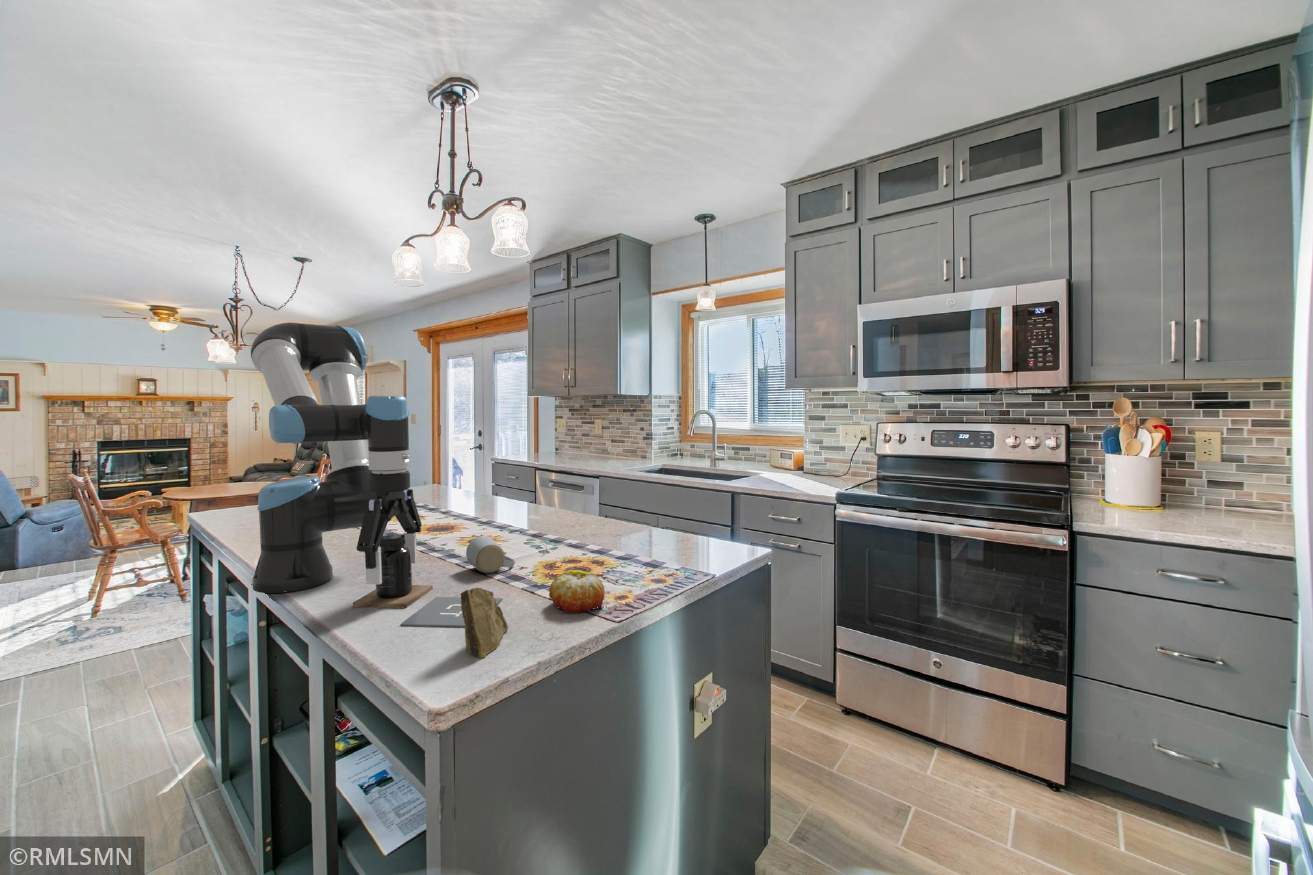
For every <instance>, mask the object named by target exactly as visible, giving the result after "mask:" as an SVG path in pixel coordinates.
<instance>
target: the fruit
mask: <svg viewBox="0 0 1313 875" xmlns="http://www.w3.org/2000/svg"><path fill="white" fill-rule="evenodd" d="M548 590H549V591H548V592H549V593H548V597H550V599H551V600H552V602H553V604H554V605H555V607H556V608H558V609H560V610H564V611H565V612H566V613H571V614H574V613H575V614H577V613H579V612H580V613H581V612H582V613H586V612H585V611H587V612H589V611H588V610H590V611H592V610H591V609H593V608H597V607H599V606H600V607H601V606H602V605H603V604H604V602H603V601H604V599H605V594H606V592H605V586H604V583H603V581H602V580H601V579H600V578H599V576H597V575H596V574H594V573H592V572H586V571H583V570H581V569H579V570H578V569H570V570H566V571H564V572H561V573H560V574H558V575H556V577H555V578H554V579H553V580H552V582H551V584H550V586H549V589H548ZM600 607H599V608H600ZM597 609H598V608H597ZM583 611H584V612H583Z"/></svg>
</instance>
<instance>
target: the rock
mask: <svg viewBox="0 0 1313 875" xmlns="http://www.w3.org/2000/svg"><path fill="white" fill-rule="evenodd" d="M460 597H461V609H462V615H463V619H464V624H465V627H464V634H465V635H464V639H465V641H464V642H465V649H466V652H468V653H469V654H471V655H472V657H475V658H480V659H486V656H487V655H489V654H490V653H492V652H493V651H494V650H495V649H497V648H498V646H499V645H500V644H501V642H502V639H503V637H504V634H505V633H506V632H507V631H508V629H509V625H508V623H507V620H506V618H505V617H504V613H503V610H502V608H501V607H500V606H499V605H497V603H496V601H495V599H494V598H495V597H494V592H493V591H489V590H487V589H483V588H480V587H474V588H471V589H466V590H464V591H462V592H461V593H460Z"/></svg>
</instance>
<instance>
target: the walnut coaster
mask: <svg viewBox="0 0 1313 875" xmlns="http://www.w3.org/2000/svg"><path fill="white" fill-rule="evenodd" d="M432 590H433V585H432V584H431V585H430V584H429V585H428V584H412V591H411V592H410V593H409V594H407V595H404V596H401V597H396V598H380V597H378V596H377V594H376V588H375V589H373V590H371V591H370V592H369V593H367V594H365V595H362V597H360V598H358V599H357V600H354V601H353V602H352V607H355V608H356V607H358V608H397V609H399V608H401V609H402V608H403V609H407V608H408V607H410V606H411V605H412V604H413V603H416V602H417V601H418V600H419V599H421V598H422V597H423V596H425V595H426V594H428V593H429V592H431V591H432Z"/></svg>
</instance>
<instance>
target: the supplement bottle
mask: <svg viewBox="0 0 1313 875" xmlns="http://www.w3.org/2000/svg"><path fill="white" fill-rule="evenodd" d="M405 544H406V541H405V535H403V533H399V534H397V533H394V534H387V535H383V537H382V539H381V542H380V545H379V548H380V549H379V550H381V569H382V583H381V584H375V589H376V594H377V596H378V597H380V598H396V597H401V596H404V595H407V594H409V593H410V592H411V591H412V585H413V572H412V563H411V551H410V550H409V549H408V548H407V547H405V546H404V545H405Z"/></svg>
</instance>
